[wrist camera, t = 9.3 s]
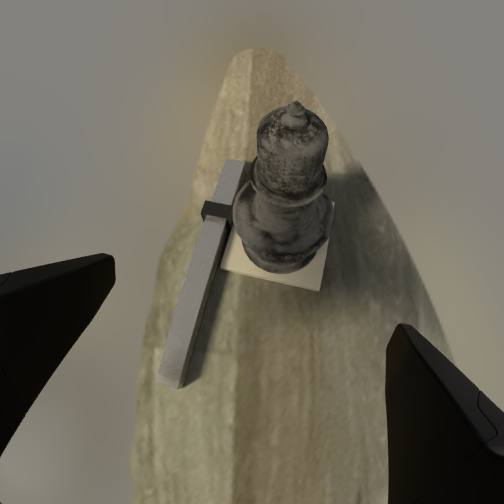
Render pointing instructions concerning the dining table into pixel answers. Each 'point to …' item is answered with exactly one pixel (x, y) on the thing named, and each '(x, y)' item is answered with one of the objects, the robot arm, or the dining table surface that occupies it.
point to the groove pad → (303, 278)
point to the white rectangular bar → (200, 275)
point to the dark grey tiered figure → (286, 192)
